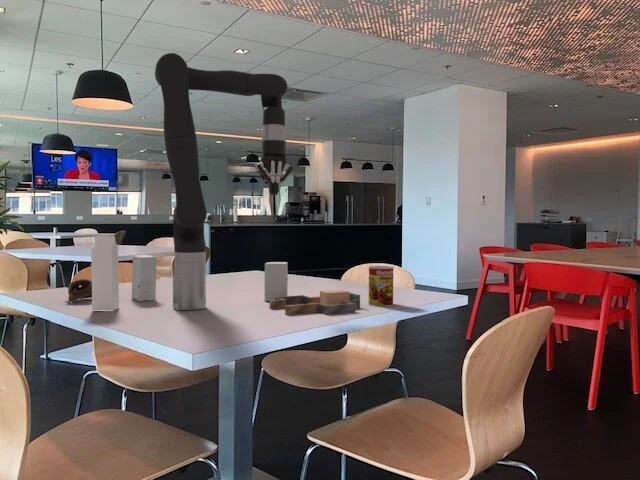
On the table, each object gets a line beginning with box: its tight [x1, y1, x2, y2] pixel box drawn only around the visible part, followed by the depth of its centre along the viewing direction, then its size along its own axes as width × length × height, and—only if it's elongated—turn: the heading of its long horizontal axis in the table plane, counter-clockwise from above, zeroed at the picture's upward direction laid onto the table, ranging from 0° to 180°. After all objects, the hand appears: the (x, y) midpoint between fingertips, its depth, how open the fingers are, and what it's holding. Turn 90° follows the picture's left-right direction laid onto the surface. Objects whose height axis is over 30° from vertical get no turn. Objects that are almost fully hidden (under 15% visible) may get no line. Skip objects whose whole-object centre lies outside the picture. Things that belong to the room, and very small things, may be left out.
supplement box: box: [264, 261, 289, 302], centre depth 175 cm, size 7×7×13 cm
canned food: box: [368, 265, 394, 307], centre depth 167 cm, size 8×8×12 cm
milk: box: [90, 235, 120, 311], centre depth 154 cm, size 6×6×22 cm
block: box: [319, 289, 351, 305], centre depth 161 cm, size 8×5×5 cm, turn 113°
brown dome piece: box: [67, 278, 92, 303], centre depth 171 cm, size 12×10×8 cm
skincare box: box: [131, 254, 158, 302], centre depth 175 cm, size 8×6×15 cm
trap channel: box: [269, 292, 361, 316], centre depth 158 cm, size 25×22×4 cm
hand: (273, 194), depth 166 cm, fingers closed
